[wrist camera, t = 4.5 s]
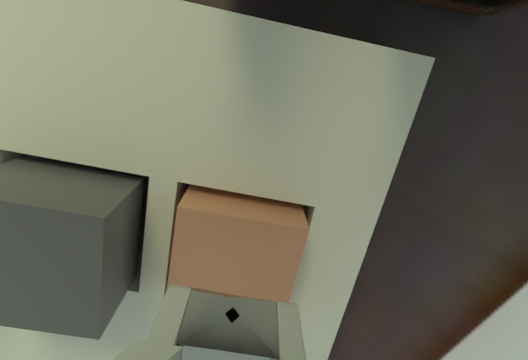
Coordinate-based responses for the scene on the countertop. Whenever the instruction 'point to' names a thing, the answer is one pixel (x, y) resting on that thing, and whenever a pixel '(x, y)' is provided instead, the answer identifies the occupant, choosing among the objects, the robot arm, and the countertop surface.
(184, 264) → the terracotta key
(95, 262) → the charcoal key
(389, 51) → the cream key base
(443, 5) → the letter holder
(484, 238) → the countertop surface
